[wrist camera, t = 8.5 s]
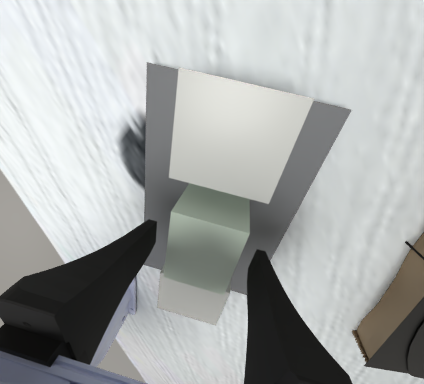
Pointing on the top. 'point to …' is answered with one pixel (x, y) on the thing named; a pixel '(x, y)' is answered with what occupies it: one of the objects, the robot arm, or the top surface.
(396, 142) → the top surface
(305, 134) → the rail board
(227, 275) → the block
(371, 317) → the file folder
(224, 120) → the mounted modules
